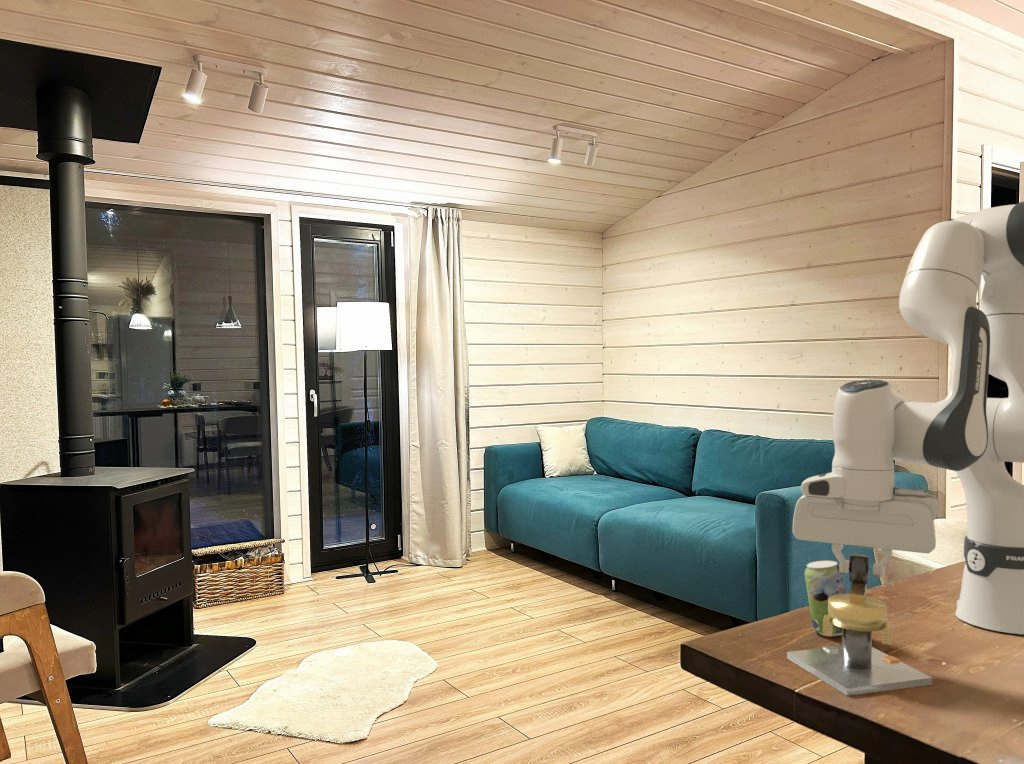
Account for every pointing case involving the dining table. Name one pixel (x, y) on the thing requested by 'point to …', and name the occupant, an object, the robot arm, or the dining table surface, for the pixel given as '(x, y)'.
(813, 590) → the beverage can
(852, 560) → the brass crank handle
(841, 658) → the post plate
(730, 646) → the dining table surface
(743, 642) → the dining table surface
